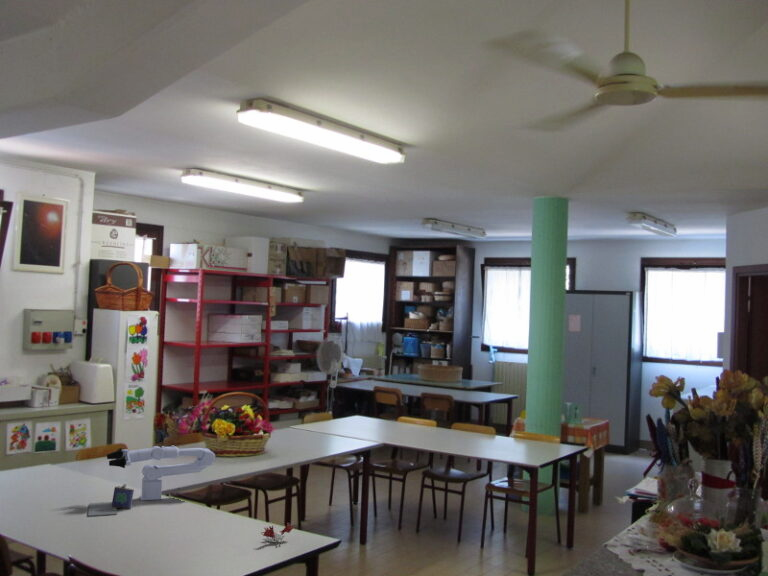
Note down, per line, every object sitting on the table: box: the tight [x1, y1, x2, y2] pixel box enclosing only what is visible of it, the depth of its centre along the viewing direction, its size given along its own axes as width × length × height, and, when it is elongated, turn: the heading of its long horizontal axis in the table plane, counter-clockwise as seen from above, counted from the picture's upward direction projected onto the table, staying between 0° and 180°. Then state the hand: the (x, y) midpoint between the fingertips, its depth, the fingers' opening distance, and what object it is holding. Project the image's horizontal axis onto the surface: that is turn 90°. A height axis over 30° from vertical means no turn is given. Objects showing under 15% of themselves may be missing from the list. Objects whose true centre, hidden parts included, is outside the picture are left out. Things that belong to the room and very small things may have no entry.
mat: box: [87, 501, 118, 518], centre depth 332 cm, size 12×20×1 cm, turn 21°
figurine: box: [260, 522, 294, 543], centre depth 297 cm, size 15×12×7 cm
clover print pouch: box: [111, 483, 135, 510], centre depth 336 cm, size 9×3×11 cm, turn 87°
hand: (108, 460), depth 345 cm, fingers open, 7 cm apart
